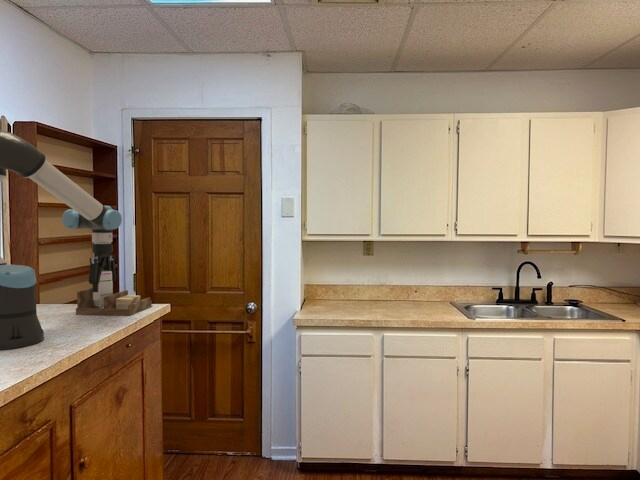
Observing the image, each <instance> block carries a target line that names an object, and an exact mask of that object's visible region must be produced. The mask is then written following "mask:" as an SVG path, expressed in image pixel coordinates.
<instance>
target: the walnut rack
mask: <svg viewBox="0 0 640 480" xmlns="http://www.w3.org/2000/svg"><path fill="white" fill-rule="evenodd" d="M126 295H129V290H128V289H126V290H123V291H122V290H121V291H120V292H119V291H118V292H116V293H113V294H112V295H109V296H106V297H104V307H99V308H98V307H97V306H94V300H93V287H89V288H85V289H82V290H78V291H76V298H77V299H76V300H77V306H76V308H75V315H76V316H77V315H81V316H82V315H83V316H116V317H117V316H118V317H120V316H121V317H130V316H132V315H135V314H137V313H139V312H142V311H144V310H147V309H149V308H151V307H153V304H152V300H151V297H145V298H144V299H140V301H138V302H135V303H133V304H130V305H128V309H116V299H117V298H120V297H123V296H126Z"/></svg>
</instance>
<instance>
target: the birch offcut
mask: <svg viewBox="0 0 640 480" xmlns="http://www.w3.org/2000/svg"><path fill="white" fill-rule="evenodd" d="M140 300H141V295H134V294H133V295H130V294H128V295H126V296H123V297H120V298H117V299H116V306H125V307H128V305H130V304H133V303H135V302H138V301H140Z"/></svg>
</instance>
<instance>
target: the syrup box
mask: <svg viewBox="0 0 640 480" xmlns="http://www.w3.org/2000/svg"><path fill="white" fill-rule="evenodd" d="M99 284H100V293H101V300H94V306H97V307H99V308H104V297H106V296H109V295H112V294H114V292H113V291H114V290H113V291H112V271H106V270H104V269H102V272H101V276H100V281H99Z"/></svg>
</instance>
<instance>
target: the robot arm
mask: <svg viewBox="0 0 640 480" xmlns="http://www.w3.org/2000/svg"><path fill="white" fill-rule="evenodd" d="M7 170H8V171H10V172H13V173H15V174H16V175H19V177H22V178H24V179H26V178H27V179H28V178H29V179H30V180H32V181H33V182H34V183H36V184H37V185H38V186H40V187H42V189H44V190H46V192H48V193H49V194H51V195H53V196H54V197H56V199H58V200H60V202H62V203H64V204H65V205H66V206H68V207H69V208H70V209H67V210H65V211H64V212H63V213H62V217H61V218H62V219H61V220H62V224H63V226H64V227H65V228H66V229H68V230H91V242H92V244H91V246H92V247H91V248H92V249H91V251H92V254H94V257H92V258H91V257H90V258H89V273H88V283H89V284H90V285H92V288H93V300H101V293H100V284H99V281H100V276H101V272H102V270H106V271H112V291H114V290H113V288H114V284H113V283H114V282H115V281H116V279H117V274H116V273H117V272H116V263H115V260H116V259H115V255H111V253H113V252H114V246H113V241H114V240H113V237H114V236H113V230H116V229H118V228H119V227H120V226H121V224H122V221H123V218H122V214H121V213H120V212H119V210H116V209H113V208H112V207H111V205H103V204H102V203H101V202H100V201H98V200H97V199H96V198H94V197H93V196H92V195H91V194H89V193H88V192H86V190H84V189H83V188H82V187H80V186H79V185H78V184H77V183H75V182H74V181H73V180H71V179H70V178H69V177H68V176H67V175H65V174H64V173H63V172H61V171H60V170H59V169H58V168H57V167H55V166H54V165H53V164H52V163H50V162H49V161H47V156H46V155H45V154H44V153H43V152H41V150H39V149H38V148H36V147H35V146H34V145H32V144H31V143H30V142H28V141H27V140H25V139H23V138H22V137H20V136H18V135H16V134H14V133H11V132H10V131H5V130H1V129H0V351H1V350H10V349H19V348H23V347H28V346H32V345H35V344H38V343H40V342H42V341H43V340H44V339H45V332H44V329H43V328H42V325H41V322H40V320H39V317H38V315H37V277H36V271H35V269H34V268H32V267H31V266H28V265H24V264H23V265H22V264H7V263H8V261H7V260H5V258H3V257H2V251H1V250H2V246H1V245H2V240H1V239H2V237H1V234H2V233H1V232H2V231H1V229H2V227H1V226H2V222H1V221H2V220H1V217H2V216H1V214H2V213H1V210H2V209H1V205H2V204H1V202H2V201H1V200H2V199H1V198H2V197H1V196H2V195H1V189H2V187H1V184H2V182H3V181H4V180H6V179H7Z"/></svg>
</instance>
